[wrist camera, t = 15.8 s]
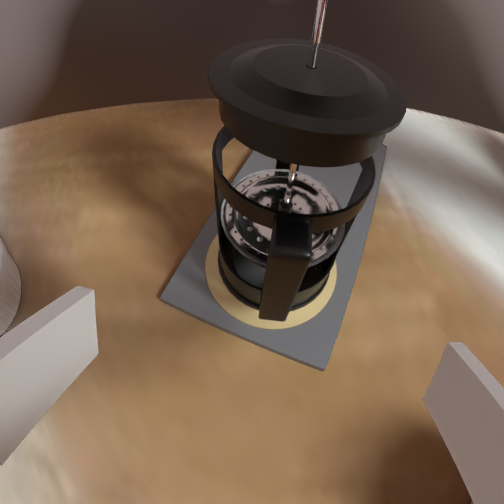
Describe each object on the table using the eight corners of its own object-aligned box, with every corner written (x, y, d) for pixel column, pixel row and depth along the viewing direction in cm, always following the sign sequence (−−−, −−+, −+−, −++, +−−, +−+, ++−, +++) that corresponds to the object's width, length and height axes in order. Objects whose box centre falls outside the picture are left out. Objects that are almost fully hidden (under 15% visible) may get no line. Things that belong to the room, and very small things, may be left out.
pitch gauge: (384, 150, 37) (407, 95, 29) (322, 371, 23) (362, 342, 16) (281, 114, 39) (289, 55, 32) (161, 301, 26) (132, 245, 18)
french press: (228, 203, 30) (227, -65, 10) (328, 216, 30) (406, -36, 10) (205, 326, 24) (130, -42, 4) (328, 339, 24) (535, 43, 4)
